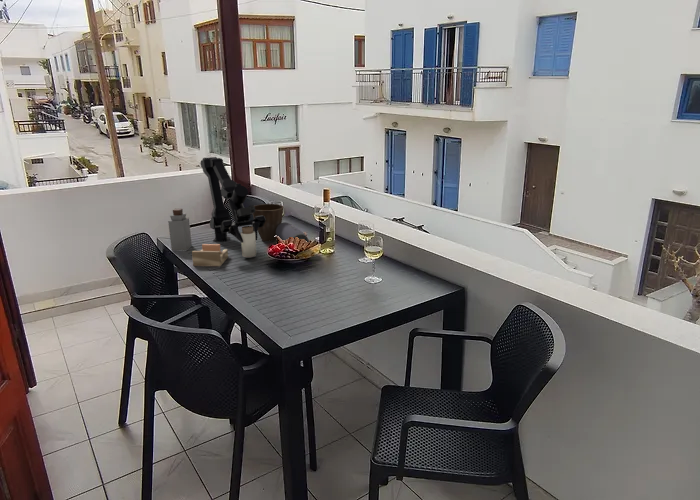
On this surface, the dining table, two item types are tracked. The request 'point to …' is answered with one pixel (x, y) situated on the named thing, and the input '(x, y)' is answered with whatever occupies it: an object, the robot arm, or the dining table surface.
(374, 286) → the dining table surface
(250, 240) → the jar
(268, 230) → the plant pot
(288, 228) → the bluetooth speaker
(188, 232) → the perfume bottle
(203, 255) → the wooden frame
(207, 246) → the plate
